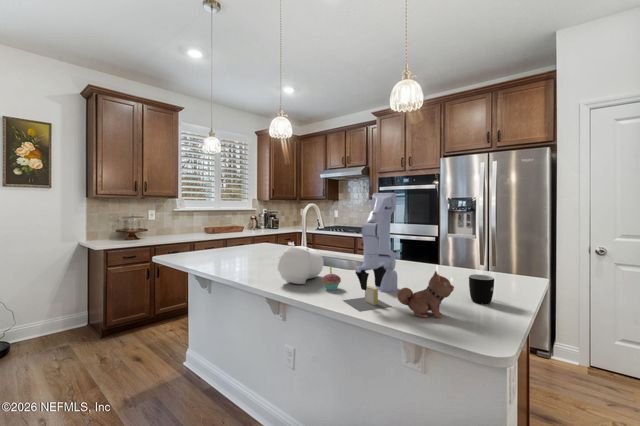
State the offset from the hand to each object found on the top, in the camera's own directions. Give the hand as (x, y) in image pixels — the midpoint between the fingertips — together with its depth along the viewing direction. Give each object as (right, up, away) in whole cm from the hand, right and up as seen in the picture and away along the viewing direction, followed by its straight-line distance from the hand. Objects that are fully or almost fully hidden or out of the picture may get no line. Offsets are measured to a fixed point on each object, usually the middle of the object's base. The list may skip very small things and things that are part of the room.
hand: (370, 287), depth 123 cm
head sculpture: (-30, -5, +39) cm, 49 cm away
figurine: (+17, -7, -11) cm, 22 cm away
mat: (-2, -6, -1) cm, 7 cm away
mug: (+45, -6, +4) cm, 46 cm away
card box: (0, -6, 0) cm, 6 cm away
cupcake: (-15, -6, +20) cm, 26 cm away
